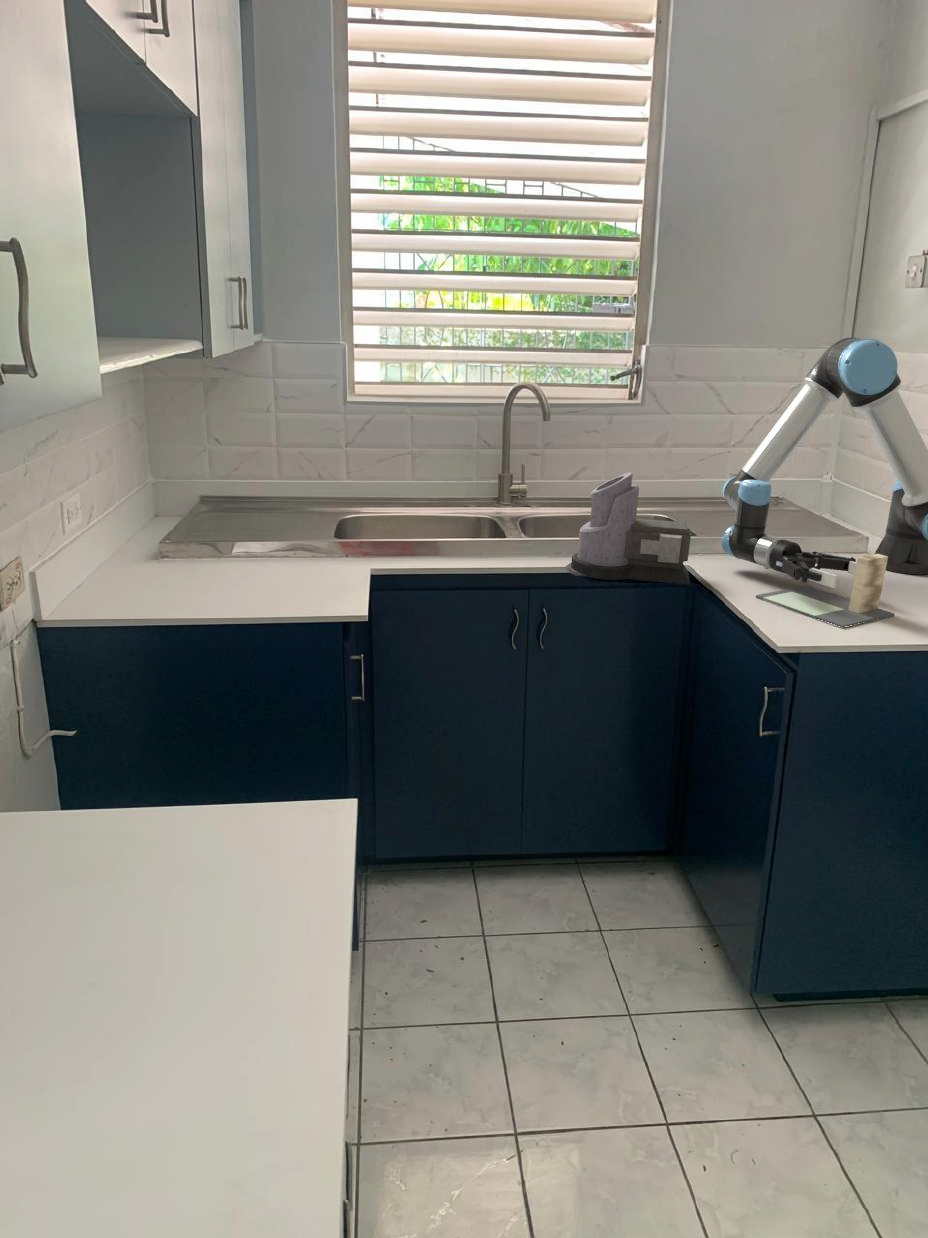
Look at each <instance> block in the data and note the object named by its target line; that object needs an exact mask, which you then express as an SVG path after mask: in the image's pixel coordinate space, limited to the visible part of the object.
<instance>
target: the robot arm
mask: <svg viewBox="0 0 928 1238" xmlns="http://www.w3.org/2000/svg"><path fill="white" fill-rule="evenodd" d="M897 358H898V357H897V356H896V353H895V352H894V351H893V349H892V348H891V347H890V346H888V345H887V344H886V343H884V342H882V341H880V340H877V339H874V338H859V337H851V336H850V337H843V338H842V339H839V340H837V341H835V342H833V343H832V344H831V345H830V346H829V347H828V348H826V350H825V351H824V352H823V353H822V354H821V356H820V357H819V358H818V360H817V361H816V363H815V364H814V365H813V366H812V368H811V369H810V370H809V372H808V373H807V374H806V376H805V377H804V379H803V381H804V385H803V387H802V388H801V389H800V390H799V392H798V393H797V395H796V396H795V397H794V398H793V400H792V401H791V403H790V404H789V406H788V407H787V408H786V409H785V411H784V412H783V414H782V415H781V416H780V417H779V419H778V420H777V421H776V422H775V424H774V426H772V428H771V430H770V431H769V432H768V434H767V435H766V436H765V437H764V439H763V440H762V441H761V443H760V444H759V446H758V447H757V448H756V449H755V451H754V452H753V453H752V455H751V456H750V457H749V459H748V460H747V462H746V463H745V464H744V465H743V467H741V469H740V470H739V472H738V473H737V474H736V476H734V477H731V478H730V479H728V480H727V481H726V482H725V483H724V485H723V487H722V497H723V499H724V501H725V502H726V504H728V506H729V507H731V508H732V509H733V510H735V516H734V524H733V525H731V526H729V527H728V528H727V529H726V530H724V534H723V536H722V537H721V548H722V550H723V551H724V553H726V554H727V555H729V556H732V557H734V558H736V559H737V560H738V559H739V560H742V561H746V562H749V563H753V564H756V565H759V566H763V567H764V569H765V570H769V569H772V570H774V571H777V572H779V573H783V574H786V575H788V576H789V577H791V578H792V579H794V580H796V581H798V580H801V582H800V583H805V584H807V583H808V580H809V581H811V582H814V583H816V584H820V585H823V586H826V587H829V588H833V589H835V588H837V583H838V582H837V581H838V574H833V573H831V572H827V571H823V570H821V569H825V570H832V571H833V570H834V571H841V572H847V573H848V574H851V575H854V576H855V571H856V566H857V561H856V560H857V559H856V558H855V557H853V556H851V557H846V556H845V557H844V556H840V555H834V554H833V555H832V554H827V553H822V552H818V551H812V553H811V552H808V551H802V548H801V546H800V544H799V543H797V542H795V541H791V540H788V539H784V538H782V537H781V538H780V537H777V536H774V535H772V534H771V535H770V534H766V528H767V527H766V526H767V522H768V517H769V516H768V514H769V509H770V504H771V500H772V485H771V483H770V481H771V480H772V479H773V478H774V476H775V475H776V473H777V472H778V471H779V469H780V468H781V467H782V466H783V464H784V463H785V462H786V461H787V459H788V458H789V457H790V456H791V454H792V452H793V451H795V449H796V448H797V447H798V445H799V444H800V443H801V441H802V440H803V438H804V437H806V435H807V433H808V432H809V431H810V429H812V427H813V425H814V424H815V423H816V422H817V421H818V420H819V417H820V416H822V414H823V413H824V411H826V409H827V407H828V406H829V405H830V404H831V403H832V402H837V401H838V400H839V399H840V398H841V396H842V395H843V394H844V395H845V397H846V398H847V401H848V403H849V404H850V406H851V408H853V409H857V410H860V411H861V412H862V413H863V416H864V417H865V420H866V421H867V424H868V425H869V427H870V429H871V431H872V433H873V434H874V436H875V438H876V441H877V442H878V444H879V446H880V448H881V450H882V452H883V454H884V456H885V458H886V460H887V461H888V463H889V465H890V467H891V469H892V471H893V473H894V475H895V476H896V479H897V481H895V484H894V487H893V490H892V496H891V502H890V507H889V513H888V518H887V522H886V529H885V533H884V536H883V537H882V540H881V542H880V543H879V545H878V547H876V550H875V552H874V554H881V555H884V556H888V560H887V565H886V570H885V571H889V572H895V573H900V574H906V573H907V575H928V447H927V446H926V443H925V441H924V439H923V438H922V436H921V433H920V431H919V430H918V427H917V425H916V424H915V421H914V420H913V418H912V416H911V413H910V412H909V410H908V407H907V406H906V404H905V402H904V400H903V398H902V396H901V395H900V392H899V390H900V387H901V384H902V380H901V377H900V376H899V374H898V367H899V365H898V359H897Z"/></svg>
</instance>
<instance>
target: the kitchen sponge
mask: <svg viewBox="0 0 928 1238" xmlns="http://www.w3.org/2000/svg"><path fill="white" fill-rule="evenodd" d="M856 560H857V561H856V562H857V566H856V571H855V575H854V579H853V582H852V583H853V584H852V589H851V594H850V598H849V599H850V603H849V609H848V610H850V611H853V612H856V613H862V612H866V611H871V610H875V609H878V608H879V605H880V600H881V595H882V590H883V585H884V580H885V575H886V571H887V570H886V565H887V560H888V556H884V555H881V554H875V553H874V554H870V555H863V556H858V557H857V559H856Z"/></svg>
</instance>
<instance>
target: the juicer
mask: <svg viewBox="0 0 928 1238" xmlns="http://www.w3.org/2000/svg"><path fill="white" fill-rule="evenodd" d="M632 482H633V472H626V473H623V474H621V475H619V476H616V477H614V478H612V479H609V480H607V481H606V482H603V483H602V484H600V485H598V486H597V487H595V488H594V489H593V490H592V491H591V492H590V494H589V496H590V497H589V498H590V499H591V500H592V501H591V508H590V509H591V510H590V520H589V521H588V522H586V523H585V524H583V525H582V526H581V527H580V528H579V535H578V546H577V547H578V548H577V552H576V553H574V554H572V555H571V562H569V563H568V564H566V566H565V570H566V571H567V572H568V573H570V574H571V575H573V576H576V577H577V576H578V577H587V578H590V579H598V580H607V581H608V580H610V581H611V580H614V581H615V580H635V581H645V582H655V583H656V582H657V583H665V584H666V583H668V584H676V585H679V584H680V585H687V586H688V585H689V586H691V580H690V574H689V570H688V569H687V567H686V566H685V564H684V562H688V561H689V553H690V545H691V536H692V533H691V528H688V523H687V522H683V521H672V520H671V521H670V520H663V519H662V520H661V519H650V518H649V519H648V518H637V511H638V502H639V493H640V485H638V484H633V483H632Z"/></svg>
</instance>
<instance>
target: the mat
mask: <svg viewBox="0 0 928 1238" xmlns="http://www.w3.org/2000/svg"><path fill="white" fill-rule="evenodd" d="M755 599H759V600H762V601H764V602H766V603H767V602H768V603H770V604H773V605H776V606H778V607H780V608H783V607H784V609H787V610H789V611H792V612H795V613H797V614H801V615H803V616H806V617H809V618H811V617H812V619H814V618H815V620H817V619H820V620H823V621H826V622H829V623H832V624H835V625H837V626H840V627H845V626H850V625H854V624H858V623H863V622H867V623H870V622H869V621H871V622H874V621H873V620H875V621H878V620H877V619H880V620H883V619H887V618H892V617H895V613H894V612H891V611H888V610H884V609H881V608H879V607H878V609H875V610H871V611H866V612H862V613H856V612H853V611H850V610H848V609H849V603H850V598H848V597H844V596H843V595H840V594H839V595H838V594H836V593H834V592H833V593H832V592H830V591H826V590H824V589H821V588H817V587H814V586H812V585H808V584H807V585H802V586H798V587H797V586H796V587H790V588H786V589H780V590H776V591H775V590H774V591H771V592H766V593H760V594H756V595H755ZM820 620H819V621H820ZM823 621H822V622H823ZM863 624H864V623H863ZM837 626H836V627H837ZM850 627H851V626H850Z"/></svg>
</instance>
